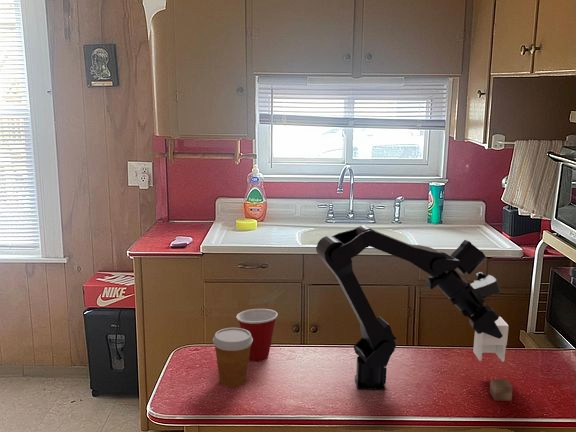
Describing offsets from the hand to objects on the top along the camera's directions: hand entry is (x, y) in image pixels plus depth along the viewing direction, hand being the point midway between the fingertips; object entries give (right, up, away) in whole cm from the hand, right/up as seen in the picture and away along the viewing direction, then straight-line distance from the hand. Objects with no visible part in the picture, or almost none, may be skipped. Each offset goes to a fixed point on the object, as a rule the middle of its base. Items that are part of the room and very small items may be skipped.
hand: (496, 332), depth 153 cm
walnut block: (-2, -14, -7) cm, 16 cm away
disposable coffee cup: (-65, -12, -2) cm, 66 cm away
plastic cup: (-59, -9, +11) cm, 61 cm away
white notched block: (-1, -6, +1) cm, 7 cm away
